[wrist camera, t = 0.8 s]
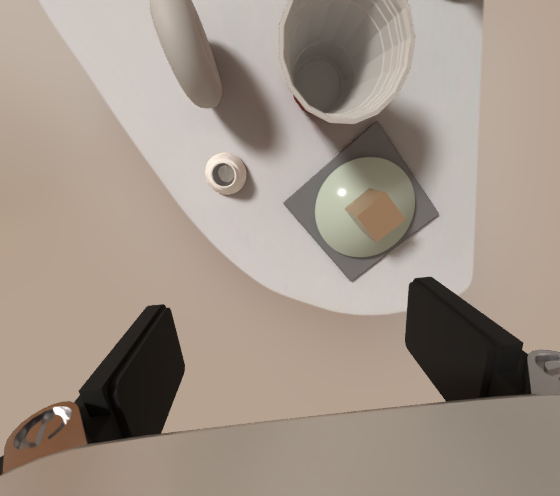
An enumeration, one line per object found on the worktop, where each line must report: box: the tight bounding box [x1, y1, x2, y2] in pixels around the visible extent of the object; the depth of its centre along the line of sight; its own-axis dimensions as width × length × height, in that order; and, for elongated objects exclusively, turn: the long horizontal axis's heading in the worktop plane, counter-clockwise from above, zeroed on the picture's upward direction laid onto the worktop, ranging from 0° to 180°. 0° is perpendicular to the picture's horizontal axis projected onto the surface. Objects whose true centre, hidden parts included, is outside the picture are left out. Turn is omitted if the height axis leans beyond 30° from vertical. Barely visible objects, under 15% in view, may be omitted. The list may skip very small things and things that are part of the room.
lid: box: [314, 157, 415, 257], centre depth 33 cm, size 13×13×6 cm
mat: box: [283, 121, 439, 281], centre depth 36 cm, size 15×15×1 cm
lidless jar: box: [205, 153, 246, 195], centre depth 33 cm, size 5×3×5 cm
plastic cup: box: [279, 0, 415, 124], centre depth 26 cm, size 11×11×12 cm
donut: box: [150, 0, 222, 108], centre depth 25 cm, size 10×4×10 cm, turn 17°
